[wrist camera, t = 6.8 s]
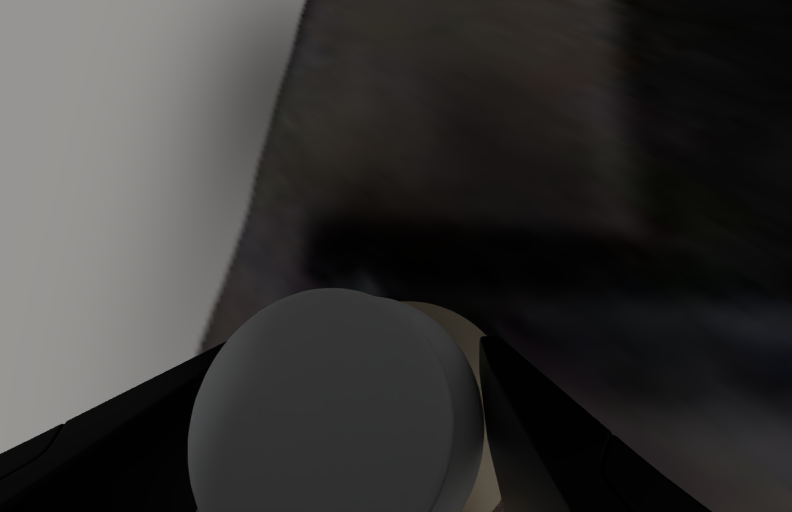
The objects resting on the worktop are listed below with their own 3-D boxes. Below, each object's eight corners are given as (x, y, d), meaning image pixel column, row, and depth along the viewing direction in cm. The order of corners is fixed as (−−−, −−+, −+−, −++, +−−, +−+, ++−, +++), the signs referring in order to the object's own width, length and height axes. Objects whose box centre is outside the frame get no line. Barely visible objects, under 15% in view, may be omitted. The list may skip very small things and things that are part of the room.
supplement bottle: (498, 415, 14) (595, 414, 5) (397, 537, 13) (285, 822, 4) (396, 319, 16) (332, 191, 7) (301, 416, 15) (78, 416, 6)
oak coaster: (370, 599, 16) (365, 610, 15) (270, 376, 20) (262, 375, 19) (567, 450, 17) (574, 452, 16) (435, 270, 22) (434, 264, 21)
